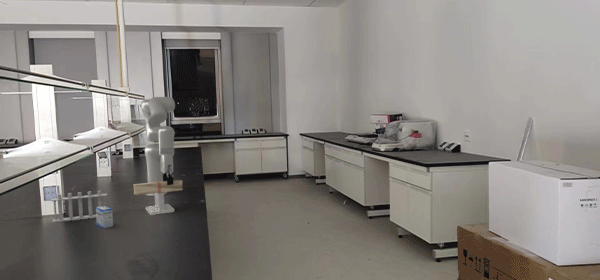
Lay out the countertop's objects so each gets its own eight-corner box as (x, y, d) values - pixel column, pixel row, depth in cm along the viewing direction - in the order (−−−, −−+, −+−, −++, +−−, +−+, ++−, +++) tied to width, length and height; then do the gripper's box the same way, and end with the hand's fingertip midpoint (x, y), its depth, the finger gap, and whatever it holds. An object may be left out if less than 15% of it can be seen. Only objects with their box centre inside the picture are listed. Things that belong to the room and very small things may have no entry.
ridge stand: (145, 209, 234) (144, 191, 233) (168, 206, 240) (167, 188, 239) (150, 215, 222) (149, 195, 221) (174, 211, 227) (173, 192, 227)
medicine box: (96, 225, 204) (95, 207, 204) (106, 223, 208) (104, 205, 207) (103, 228, 199) (102, 209, 198) (113, 226, 202) (112, 208, 201)
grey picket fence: (52, 223, 211) (50, 196, 210) (53, 220, 215) (51, 194, 214) (108, 216, 221) (107, 190, 220) (108, 214, 225) (106, 189, 224)
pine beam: (134, 194, 226) (133, 184, 226) (180, 188, 237) (180, 179, 237) (135, 195, 222) (134, 185, 222) (182, 190, 234) (182, 180, 233)
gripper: (156, 150, 236) (157, 181, 238) (162, 153, 221) (164, 186, 223) (170, 149, 240) (171, 179, 242) (177, 152, 225) (179, 185, 226)
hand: (168, 183), depth 232 cm, fingers open, 9 cm apart
